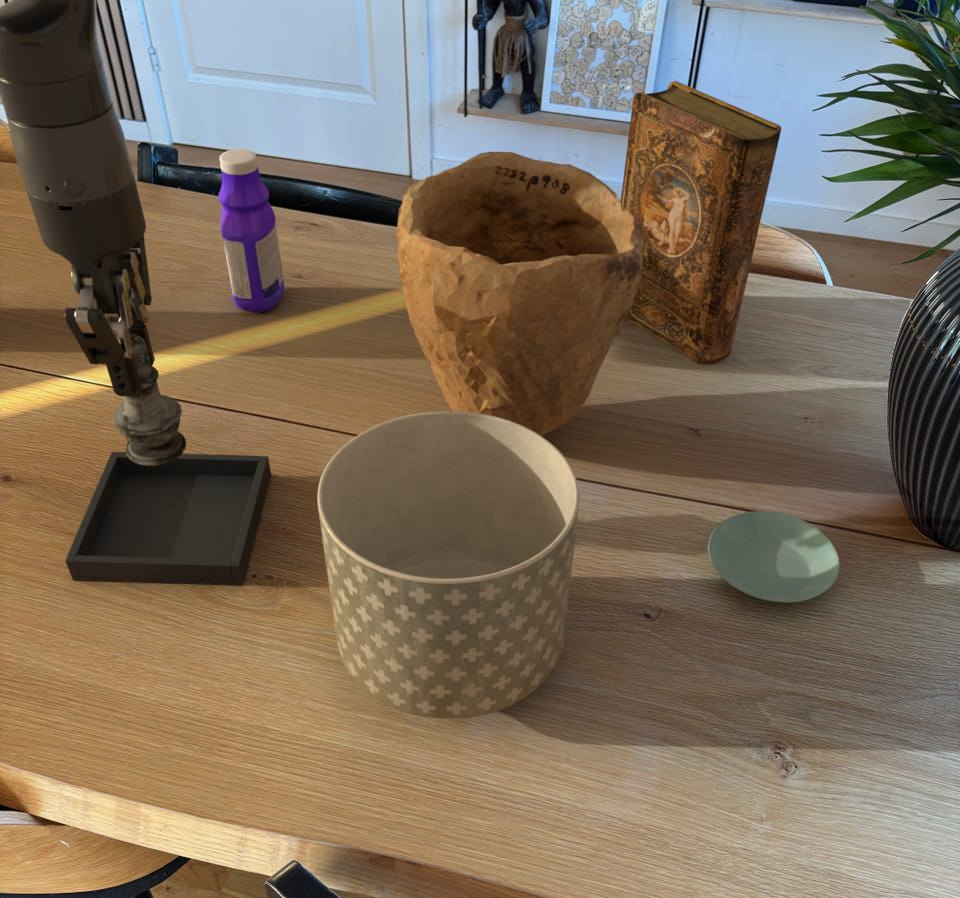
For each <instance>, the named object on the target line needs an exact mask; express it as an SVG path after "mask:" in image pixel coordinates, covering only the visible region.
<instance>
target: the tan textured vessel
mask: <svg viewBox="0 0 960 898" xmlns="http://www.w3.org/2000/svg"><path fill="white" fill-rule="evenodd" d="M396 239H397V247H396V254H397V260H398V266H399V272H398V273H399V282H400V283H401V286H402V290H403V294H404V298H405V299H404V300H405V308H406V311H407V314H408V318H409V322H410V325H411V327H412V329H413V332H414V335H415V337H416V339H417V341H418V343H419V346H420V347H421V350H422V352H423V354H424V356H425V357H426V360H427V361H428V363H429V365H430V366H431V367H430V368H431V371H432V373H433V376H434V377H435V380H436V382H437V386H438V387H439V390H440V391H441V394H442V396H443V399H444V400H445V402H446V404H447V405H448V406H449V408H450V410H451V411H463V412H473V413H480V414H486V415H491V416H495V417H499V418H502V419H506V420H509V421H512V422H514V423H517V424H519V425H522V426H524V427H526V428H528V429H530V430H532V431H534V432H535V433H537V434H539V435H540V436H542V437H544V436H545V435H546V434H548V433H550V432H552V431H553V430H555V429H556V428H559V427H561V426H563V425H564V424H566V423H567V422H568V421H569V420H571V419H572V418H573V417H574V415H575V414H576V413H578V411H579V410H580V409H581V408H582V407H583V406H584V405H585V403H586V401H587V400H588V398H589V396H590V394H591V391H592V389H593V386H594V383H595V381H596V379H597V376H598V373H599V371H600V369H601V367H602V365H603V364H604V361H605V358H606V357H607V354H608V353H609V350H610V348H611V347H612V343H613V341H614V340H615V338H616V337H617V336H618V334H619V332H620V330H621V327H622V326H623V323H624V321H625V320H626V318H625V317H626V316H627V314H628V312H629V310H630V308H631V306H632V304H633V301H634V298H635V295H636V293H637V290H638V286H639V283H640V279H641V273H642V270H643V253H644V250H645V240H644V234H643V227H642V224H641V222H640V221H639V219H638V218H637V217H636V216H634V215H633V214H631V213H629V212H628V211H627V210H626V209H625V207H624V206H623V205H622V204H621V199H620V198H619V196H618V194H617V193H616V192H615V191H614V190H613V189H612V188H611V187H610V186H608V185H607V184H606V183H604V182H603V181H602V180H600V179H599V178H598V177H596V176H595V175H594V174H592V173H591V172H589V171H586V170H584V169H581V168H579V167H577V166H575V165H571V164H570V163H568V164H567V163H556V162H552V161H547V160H540V159H534V158H531V157H527V156H524V155H521V154H518V153H515V152H514V151H513V152H512V151H486V152H480V153H479V154H476V155H474V156H472V157H470V158H468V159H466V160H465V161H464V162H462V163H461V164H459V165H456V166H454V167H451V168H448V169H445V170H442V171H440V172H439V173H437V174H436V173H435V174H433V175H432V174H431V175H429V176H427V177H425V178H423V179H421V180H418V181H417V182H415V183H413V184H411V185H410V187H409V188H408V189H407V190H406V191H405V192H404V193H403V195H402V202H401V204H400V207H399V209H398V215H397V226H396Z"/></svg>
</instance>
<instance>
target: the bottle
mask: <svg viewBox="0 0 960 898" xmlns="http://www.w3.org/2000/svg"><path fill="white" fill-rule="evenodd" d="M219 166H220V170H221V187H220V190H219V192H218V201H219V203H220V205H222V207H221V215H220V232H221V236H222V242H223V248H224V253H225V258H226V264H227V270H228V277H229V282H230V288H231V295H232V298H233V301H234V303H235V306H236V307H237V308H238V309H240V310H242V311H248V312H254V313H265V312H269V311H270V310H272V309H274V307H276V306H277V305H278V304H279V302H280V301H281V300H282V297H283V295H284V290H285V280H284V273H283V266H282V259H281V252H280V246H279V245H280V243H279V237H278V230H277V223H276V220H277V219H276V214H275V212H274V210H273V207H272V206H271V204H270V202H269V198H270V192H269V189H268V188H267V186H266V185H265V184H264V182H263V180H262V178H261V174H260V169H259V164H258V157H257V154H256V153H255V152H254V151H253V150H251V149H247V148H236V149H235V148H233V149H229V150H226V151H225V152H223V153H221V154H220V155H219Z"/></svg>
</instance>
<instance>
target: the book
mask: <svg viewBox="0 0 960 898" xmlns="http://www.w3.org/2000/svg"><path fill="white" fill-rule="evenodd" d="M781 132H782V126H781V125H780V124H777V123H775V122H773V121H770V120H768V119H766V118H764V117H761V116H759V115H757V114H754V113H752V112H750V111H747V110H745V109H742V108H740V107H738V106H736V105H733V104H731V103H729V102H726V101H723V100H721V99H719V98H717V97H715V96H713V95H710V94H708V93H705V92H702V91H700V90H698V89H695V88H693V87H691V86H690V85H689V86H688V85H687V84H684V83H682V82H680V81H677V80H673V81H671V82H669V84H668V85H667V89H665V90H662V91H657V92H650V93H645V92H642V91H638V92H637V93H635V94H634V96H633V99H632V107H631V114H630V123H629V131H628V138H627V148H626V155H625V162H624V163H625V164H624V172H623V179H622V187H621V195H620V202H621V204H622V205H623V206H624V207H625V209H626V210H627V211H628V212H629V213H631V214H633V215H634V216H636V217H637V218H638V219H639V221H640V222H641V224H642V227H643V234H644V240H645V250H644V253H643V270H642V273H641V279H640V283H639V286H638V290H637V293H636V295H635V298H634V301H633V304H632V306H631V308H630V310H629V312H628V314H627V316H626V317H625V320H627V321H629V322H631V323H632V324H634V325H635V326H637V327H639V328H640V329H642V330H643V331H646V332H647V333H648V334H650V335H652V336H653V337H655V338H656V339H658V340H659V341H661V342H663V343H665V344H666V345H668V346H669V347H670V348H673V349H674V350H675V351H678V352H679V353H681V354H682V355H684V356H686V357H687V358H689V359H690V360H692V361H694V362H695V363H697V364H700V365H712V364H716V363H717V364H718V363H719V362H721V361H724V360H726V359H727V358H728V357H729V356H730V355H731V353H732V348H733V344H734V339H735V335H736V331H737V326H738V323H739V317H740V313H741V309H742V304H743V299H744V295H745V290H746V287H747V282H748V278H749V273H750V269H751V265H752V261H753V256H754V251H755V246H756V243H757V238H758V233H759V229H760V224H761V220H762V217H763V212H764V207H765V203H766V199H767V195H768V189H769V185H770V181H771V177H772V172H773V168H774V164H775V160H776V159H775V158H776V155H777V150H778V145H779V141H780V138H781Z"/></svg>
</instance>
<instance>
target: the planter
mask: <svg viewBox="0 0 960 898" xmlns="http://www.w3.org/2000/svg"><path fill="white" fill-rule="evenodd" d="M570 464H571V463H570V462H569V460H567V458H566V456H564V454H563V453H562V452H561V451H560V450H559V449H558V448H557V446H555V445H553V444H552V443H551V441H549V440H548V439H546V438H545V437H544V436H540V435H539V434H537V433H535V432H534V431H532V430H530V429H528V428H526V427H524V426H522V425H519V424H517V423H514V422H512V421H509V420H506V419H502V418H499V417H495V416H491V415H486V414H480V413H473V412H463V411H452V410H439V411H436V410H435V411H426V412H419V413H412V414H408V415H407V414H406V415H403V416H399V417H395V418H393V419H390V420H386V421H383V422H381V423H378V424H377V425H374V426H372V427H370V428H368V429H366V430H364V431H362V432H361V433H359V434H358V435H356V436H354V437H353V438H351V439H349V441H347V442H346V443H345V444H344V445H342V446H341V447H340V449H338V451H336V453H334V455H333V456H332V457H331V459H330V460H329V462H328V463H327V464H326V466H325V468H324V470H323V471H322V474H321V476H320V480H319V483H318V487H317V496H316V498H317V499H316V500H317V511H318V517H319V525H320V532H321V539H322V545H323V552H324V560H325V567H326V574H327V582H328V588H329V596H330V602H331V609H332V616H333V624H334V631H335V638H336V644H337V649H338V653H339V655H340V659H341V661H342V663H343V665H344V668H345V669H346V670H347V672H348V674H349V675H350V676H351V677H352V678H353V680H354V681H355V682H356V683H357V684H358V685H359V686H360V687H361V688H362V690H364V691H365V692H366V693H368V694H369V695H371V697H373V698H375V699H376V700H378V701H379V702H382V703H383V704H385V705H387V706H389V707H391V708H394V709H396V710H399V711H401V712H405V713H408V714H411V715H416V716H420V717H425V718H432V719H446V720H447V719H449V720H450V719H451V720H452V719H466V718H467V719H468V718H474V717H479V716H483V715H488V714H492V713H495V712H497V711H500V710H503V709H506V708H507V707H511V706H512V705H515V704H516V703H518V702H520V701H522V700H523V699H524V698H526V697H527V696H529V695H531V694H532V693H534V692H535V690H536V689H537V688H539V687H540V686H541V685H542V684H543V683H544V682H545V681H546V680H547V678H548V677H549V676H550V675H551V673H552V672H553V670H554V668H555V666H557V663H558V661H559V659H560V656H561V654H562V650H563V646H564V641H565V631H566V625H567V624H566V622H567V615H568V605H569V596H570V588H571V587H570V586H571V579H572V569H573V562H574V561H573V560H574V552H575V543H576V533H577V525H578V517H579V508H580V507H579V506H580V489H579V483H578V480H577V476H576V474H575V471H574V469H573V467H572V465H570Z"/></svg>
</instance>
